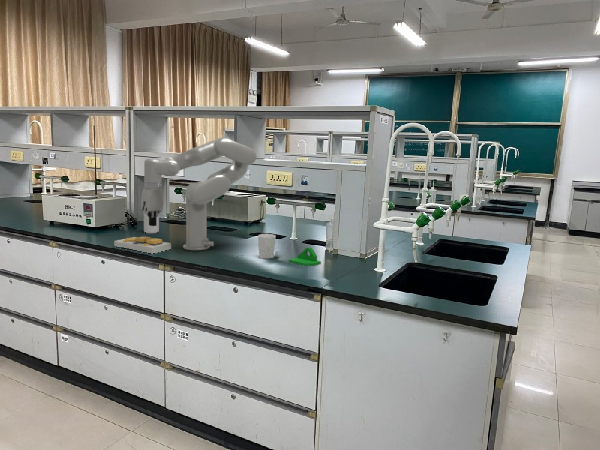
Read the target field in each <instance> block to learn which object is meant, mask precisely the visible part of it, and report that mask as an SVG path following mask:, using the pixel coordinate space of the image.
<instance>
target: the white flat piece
mask: <svg viewBox="0 0 600 450" xmlns="http://www.w3.org/2000/svg"><path fill="white" fill-rule="evenodd" d="M133 237H134V238H138V237H137V236H133ZM130 238H132V237H130ZM125 239H126V238H124V239H122V238H121V239H117V240H113V241H114V243H113V245H114V246H117V247H124V248H129V249H133V250H137V251H142V252H141V253H143V252H147V253H146V254H148V253H151V254H150V255H154V254H153V253H155V254H159V253H162V252H161V251H163V252H166V251H165V250H167V251H169V249H171V250H172V243H171V242H165V241H162V244H160V245H156V246H153V245H149V244H146V243H145V244H141V243H138V242H135V241H134V242H130V241H127V240H125ZM137 251H136V252H137ZM158 252H159V253H158Z"/></svg>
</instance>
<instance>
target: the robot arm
mask: <svg viewBox="0 0 600 450" xmlns="http://www.w3.org/2000/svg"><path fill="white" fill-rule="evenodd" d="M222 157H225V158H227V159H230V160H232V161H231V163H230V164H228V165H227V166H225V167H224V168H222V169H219V170H217V171H216V172H213V173H211V174H210V175H208V177H207V178H206V180H204V181H202V182H192V183H190V184H188V186H187V187H186V189H185V194H184V196H185V197H184V198H185V206H186V207H185V210H186V211H185V212H186V213H185V221H186V222H185V223H186V224H185V226H186V227H185V231H186V237H185V238H186V241H185V244H183V245H182V248H183V249H184V250H186V251H188V250H189V251H205V250H209V249H210V248H211V247H214V245H215V242H214V241H211V240H209V238H208V237H207V231H208V230H207V226H208V225H207V221H208V220H207V219H208V218H207V216H208V214H207V213H208V212H207V210H208V209H207V204H209V203H210V202H212V201H213V200H216V199H217V198H220V197H221V196H223V195H225V194H226V193H227V192H228V191H229V190H230V188H231V185H233V184H234V183H236V182H238V181H239V180H241V179H242V178H243V177H244V176H245V174H246V173H247V171H248V168H249V166H251V165H253V164H254V163H255V162H256V160H257V153H256V151H255V150H254V149H253V148H252V147H251V146H250V147H249V146H247V145H245V144H242V143H239V142H237V141H235V140H233V139H230V138H227V137H219V138H216V139H214V140H211V141H209V142H205V143H203V144H200V145H198V146H195V147H193V148H191V149H188V150H186V151H183V152H181V153H178V154H176V155H173V156H170V157H168V158H165V159H162V160H161V159H158V158H146V159H145V160H144V161H143V162H144V164H143V165H144V167H143V168H144V171H143V172H144V174H143V175H144V176H143V186H144V187H143V189H142V191H141V192H142V193H141V197H140V198H141V199H140V210H141V211H143V212H142V213H143V215H144V214H147V215H148V217H149V226H156V225H157V217H158V214H159V215H160V213H162V212H163V209H164V193H163V189H162V186H163V183H162V182H163V180H162V176H169V177H174V176H177V175H178V174H179V172H180V171H182V170H184V169H188V168H191V167H198V166H202V165H204V164H207V163H210V162H212V161H214V160H216V159H217V160H218V159H220V158H222ZM150 212H151V213H150Z"/></svg>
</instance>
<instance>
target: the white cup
mask: <svg viewBox="0 0 600 450" xmlns="http://www.w3.org/2000/svg"><path fill="white" fill-rule="evenodd" d="M257 236H258V238H257V239H258V241H257V243H258V257H259V258H260V259H268V260H269V259H273V258H274V257H275V249H276V248H275V246H276V238H277V237H276V234H272V233H261V234H258V235H257Z"/></svg>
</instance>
